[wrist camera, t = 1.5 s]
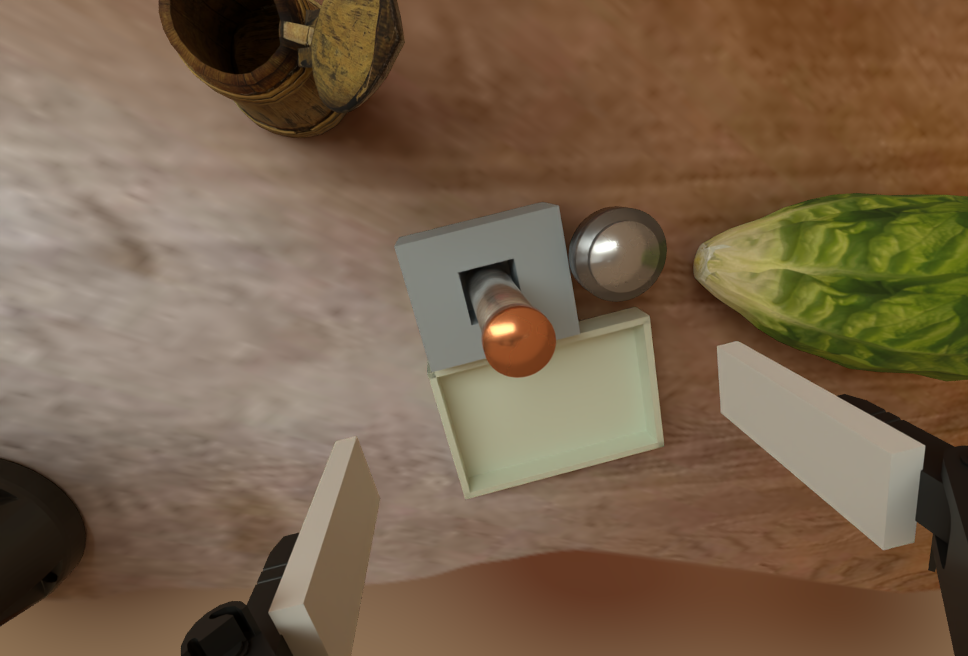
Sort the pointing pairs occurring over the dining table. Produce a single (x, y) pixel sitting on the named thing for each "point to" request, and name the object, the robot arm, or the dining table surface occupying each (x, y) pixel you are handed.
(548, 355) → the pin
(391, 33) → the wooden mug
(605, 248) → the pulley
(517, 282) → the block
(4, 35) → the dining table surface
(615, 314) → the tray
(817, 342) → the lettuce
